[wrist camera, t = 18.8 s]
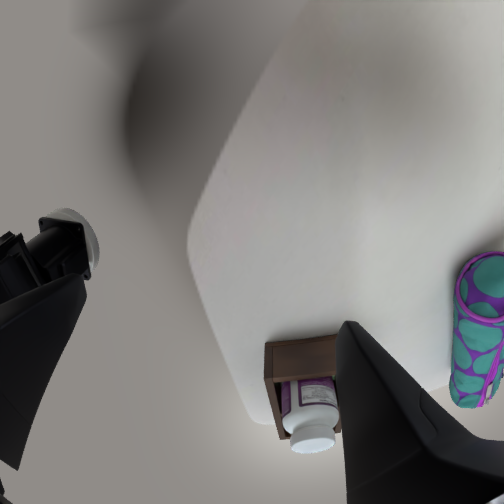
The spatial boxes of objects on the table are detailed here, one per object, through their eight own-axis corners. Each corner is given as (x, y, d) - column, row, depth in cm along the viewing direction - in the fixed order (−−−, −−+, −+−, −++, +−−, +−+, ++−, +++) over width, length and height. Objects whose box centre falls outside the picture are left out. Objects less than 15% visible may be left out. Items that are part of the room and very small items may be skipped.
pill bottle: (302, 387, 29) (307, 459, 21) (270, 369, 28) (269, 449, 19) (339, 366, 27) (354, 442, 19) (309, 345, 26) (320, 431, 17)
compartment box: (279, 412, 34) (279, 439, 30) (264, 342, 27) (263, 378, 23) (336, 405, 33) (340, 432, 29) (343, 333, 26) (353, 367, 22)
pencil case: (485, 346, 28) (511, 392, 19) (440, 374, 30) (461, 425, 22) (494, 234, 20) (551, 284, 11) (434, 270, 22) (484, 338, 14)
